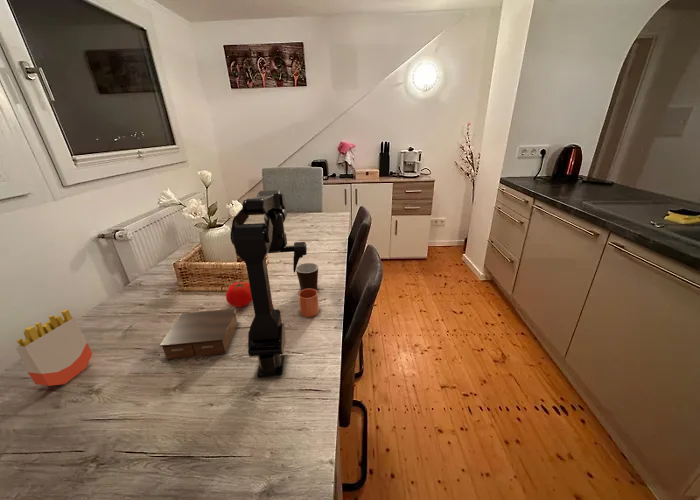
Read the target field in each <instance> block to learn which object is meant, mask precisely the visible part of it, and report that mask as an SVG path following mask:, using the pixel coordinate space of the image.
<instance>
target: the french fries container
mask: <svg viewBox="0 0 700 500" xmlns="http://www.w3.org/2000/svg"><path fill="white" fill-rule="evenodd" d="M60 313H61V315H62V316H61V315H57V316H55V315H54V314H51V315H49V316H48V319H49V320H47V322H44V323H43V324H42V322H36V323H35V326H34V325H33V326H31V325H29V326H28V327H25V328H24V329H23V336H24V337H25V338H24V339H22V338H19V339H16V342H17V344H18V345H17V346H16V351H17V353H18V355H19V357H20V359H21V361H22V363H23V366H24V368H25V370H26V372H27V373H28V375H29V377H30V378H31V379H32V381H33V383H34V384H35V385H40V386H47V387H50V386H51V387H52V386H59V385H66V384H67V383H68V382H70V381H71V380H73V379H74V378H75V377H76V376H77V375H78V374H79V373H81V372H83V371H84V370H85V369H87V367H88V364H89V363H90V360H91V357H92V356H93V351H92V350H91V348H90V346H89V344H88V341H87V340H86V338H85V336H84V334H83V332H82V330H81V328H80V326H79V324H78V323H77V320H76V318H75V317H73V316H72V315H71V312H70V310H69V309H64V310H61V311H60ZM62 317H63V318H62Z"/></svg>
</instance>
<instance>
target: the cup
mask: <svg viewBox="0 0 700 500" xmlns="http://www.w3.org/2000/svg"><path fill="white" fill-rule="evenodd" d="M318 295H319V294H318V290H317V291H316V290H315V289H311V288H309V289H304V290H302V291H301V290H300V291H299V292H298V302H299V311H300V315H301V316H302V317H304V318H305V317H306V318H312V317H315V316H317V315H318V314H319V312H320V305H319V296H318Z"/></svg>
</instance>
